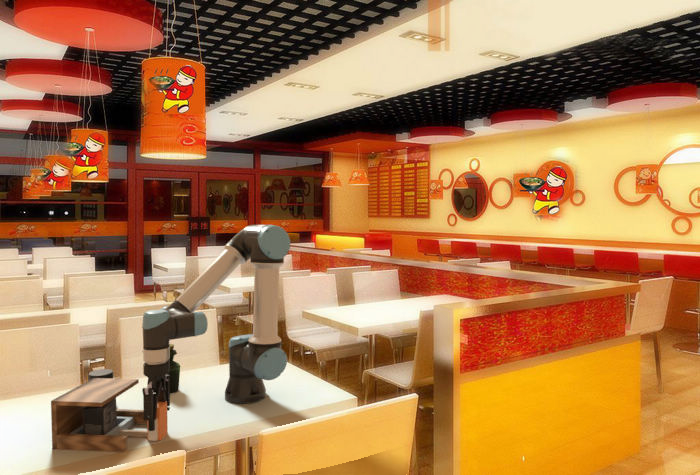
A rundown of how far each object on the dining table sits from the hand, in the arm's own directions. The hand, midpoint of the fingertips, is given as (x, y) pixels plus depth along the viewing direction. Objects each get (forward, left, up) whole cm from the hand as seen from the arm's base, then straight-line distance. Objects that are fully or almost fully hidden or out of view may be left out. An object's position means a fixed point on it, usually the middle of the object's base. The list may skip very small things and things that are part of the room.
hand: (157, 435), depth 156 cm
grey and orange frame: (+11, 0, 0) cm, 11 cm away
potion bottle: (+14, -40, -1) cm, 42 cm away
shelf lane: (+16, 0, 0) cm, 16 cm away
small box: (+18, 0, -1) cm, 18 cm away
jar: (+32, -24, -1) cm, 40 cm away
